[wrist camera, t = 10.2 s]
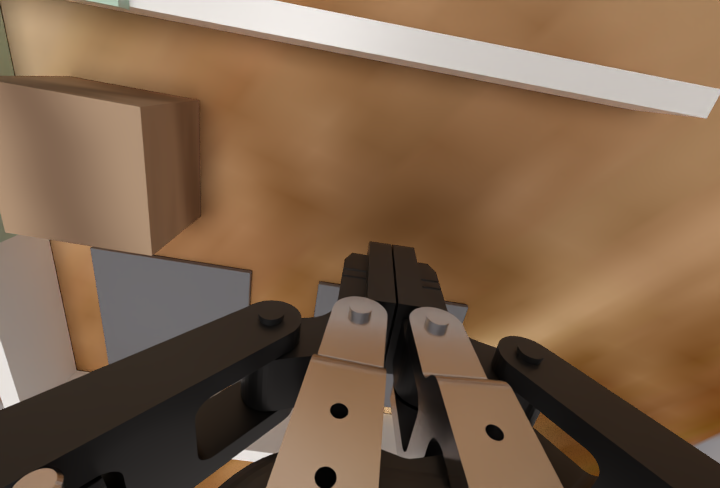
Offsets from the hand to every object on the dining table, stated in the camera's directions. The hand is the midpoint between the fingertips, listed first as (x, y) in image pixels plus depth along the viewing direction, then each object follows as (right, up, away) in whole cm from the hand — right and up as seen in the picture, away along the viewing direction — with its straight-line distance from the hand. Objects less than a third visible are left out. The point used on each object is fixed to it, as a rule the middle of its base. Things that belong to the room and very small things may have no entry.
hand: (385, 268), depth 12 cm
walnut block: (-12, +6, +6) cm, 15 cm away
